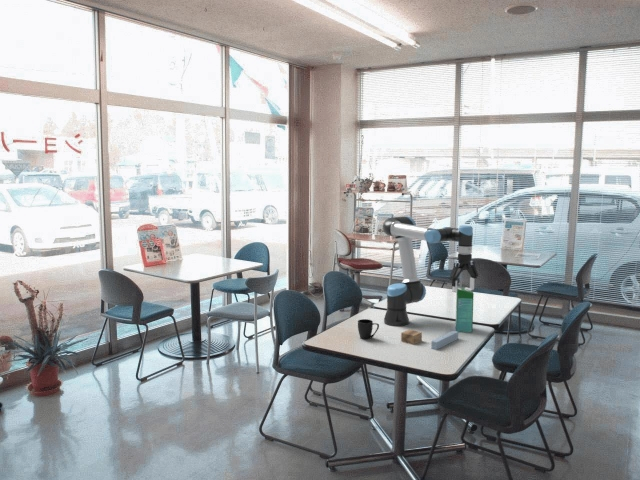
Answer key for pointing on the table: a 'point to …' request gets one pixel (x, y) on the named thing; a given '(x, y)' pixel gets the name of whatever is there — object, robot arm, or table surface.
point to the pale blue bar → (444, 340)
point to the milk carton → (464, 309)
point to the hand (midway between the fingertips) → (463, 290)
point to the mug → (366, 328)
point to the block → (411, 336)
